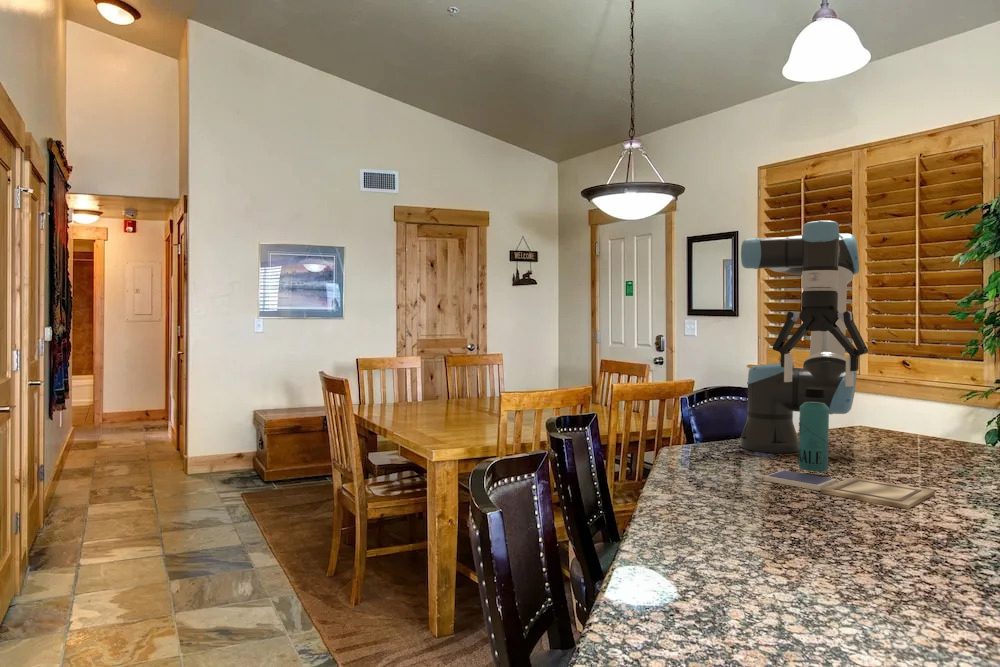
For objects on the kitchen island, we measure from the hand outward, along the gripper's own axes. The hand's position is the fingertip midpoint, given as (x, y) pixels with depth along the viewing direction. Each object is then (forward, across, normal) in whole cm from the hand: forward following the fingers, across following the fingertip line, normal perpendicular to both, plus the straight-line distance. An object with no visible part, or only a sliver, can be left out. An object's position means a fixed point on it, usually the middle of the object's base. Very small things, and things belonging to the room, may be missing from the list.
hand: (817, 384), depth 159 cm
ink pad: (+21, 0, -10) cm, 23 cm away
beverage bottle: (+21, 0, 0) cm, 21 cm away
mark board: (+21, +15, -8) cm, 27 cm away
